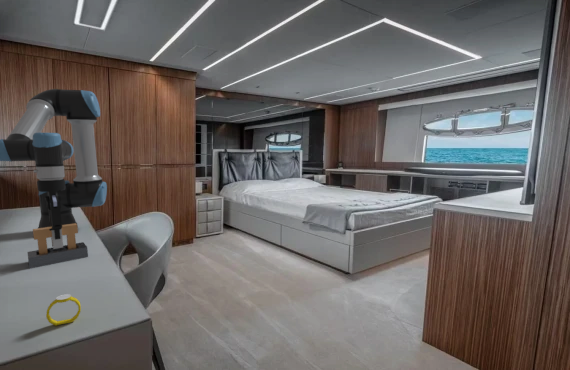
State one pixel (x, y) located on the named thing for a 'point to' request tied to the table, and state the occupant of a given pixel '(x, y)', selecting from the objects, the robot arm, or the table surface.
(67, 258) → the slotted gray block
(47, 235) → the notched wooden block
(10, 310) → the table surface
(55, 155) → the robot arm
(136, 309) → the table surface
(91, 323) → the table surface
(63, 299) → the watch
